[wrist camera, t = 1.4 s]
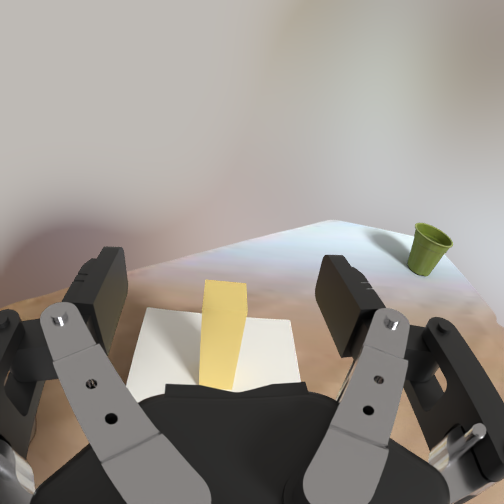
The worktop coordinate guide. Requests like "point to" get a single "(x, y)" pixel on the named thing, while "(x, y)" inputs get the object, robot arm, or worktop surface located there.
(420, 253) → the plant pot
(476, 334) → the worktop surface
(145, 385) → the lid
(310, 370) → the worktop surface
